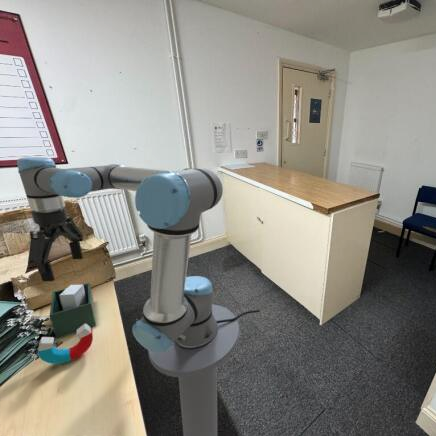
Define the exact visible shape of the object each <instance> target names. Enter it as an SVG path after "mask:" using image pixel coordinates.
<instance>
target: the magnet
mask: <svg viewBox="0 0 436 436" xmlns="http://www.w3.org/2000/svg"><path fill="white" fill-rule="evenodd" d="M93 334H94V333H93V330H92V327H89V325H87V324H86V323H85V324H84V325H82V326H81V327H80V328H78V329H77V332H76V337H77V338H79V341H78V342H77V343H76V344H75V345H73V346H70V347H69V348H64V349H63V348H62V349H61V348H57V347H55V346H54V340H55V337H53V336H42V337H41V338H40V340H39V343H38V349H37V354H38V357H39V359H41V360H42V362H45V363H48V364H53V365H54V364H56V365H57V364H63V363H64V364H65V363H68V362H71V361H73V360H75V359H78V358H79V357H81V356H82V355H84V354H85V353H87V351H88V350H89V348H90V347H91V346H92V344H93V339H94V338H93V336H94V335H93Z"/></svg>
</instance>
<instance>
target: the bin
mask: <svg viewBox="0 0 436 436" xmlns="http://www.w3.org/2000/svg"><path fill="white" fill-rule="evenodd" d="M82 285H83V286H84V290H85V295H86V300H87V304H84V305H81V306H77V307H74V308H70V309H67V310H63V308H62V304H61V300H60V296H59V295H60V294H61V293H62V292H63V291H64V290H65V289H66V288H63V289H59V290H54V291H52V293H51V301H50V302H51V303H50V309H49V316H48V317H49V319H50V322H51V326H52V329H53V332H54V334H55V338H56V339H60V338H63V337H66V336H68V335H71V334H75V333H77V329H78V328H80V327H81V326H82V325H84V324H85V323H86V324H87V325H89V327H90V328H93V327H96V326H97V322H96V310H95V302H94V297H93V291H92V288H91V283H90V282H88V283H83V284H82Z"/></svg>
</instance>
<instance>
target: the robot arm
mask: <svg viewBox="0 0 436 436" xmlns="http://www.w3.org/2000/svg"><path fill="white" fill-rule="evenodd" d="M16 164H17V169H18V170H17V172H18V174H19V177H20V181H21V183H22V186H23V189H24V193H25V195H26V199H27V203H28V206H29V209H30V211H31V212H30V214H31V217H32V221H33V223H34V224H36V225H38V227H39V228H38V230H30V232H29V238H30V243H29V249H28V250H29V251H28V259H27V265H28V266H36V268H37V271H38V273H39V274H40V278H41V281H42V282H54V281H55V280H56V279H55V275H54V272H53V269H52V265H51V262H50V261H48V259H49V256H50V253H51V250H52V247H53V244H54V242H56V240H57V239H58V238H59V237H60V236H62V237H64V238H65V239H67V240H68V241H70V242H69V243H68V244H69V248H70V253H71V258H72V260H82V259H84V256H83V252H82V246H81V242H83V241H84V234H83V232H82V231H81V230H80V229H79V227H78V226H77V224H76V223H75V222H74V218H73V217H72V216H68V213H67V209H66V208H65V207H66V203H65V199H64V198H73V199H74V198H75V199H77V198H83V197H85V196H87V195H88V194H90V193H91V192H93V193H94V192H96V191H102V190H111V189H113V190H122V191H123V190H124V191H132V192H135V195H134V205H135V209H136V211H137V212H139V214H138V216H139V218H140V219H141V221H142V222H144V223H145V224H146V226H147V228H148V229H149V230H150V231H151V232H153V240H152V241H153V242H152V261H151V274H150V275H151V279H150V280H151V281H150V293H149V295H150V296H149V299H147V301H145V303H144V305H143V309H142V317H141V319H139V320H137V321H136V322H135V323H134V324H133V325H132V329H131V330H132V331H131V332H132V335H133V337H134V338H135V340H136V341H137V342H138V343H139V345H141V346H142V347H143V348H144V349H146V350H147V351H148V350H149V351H151V352H154V353H162V352H164V351H166V350H167V349H168V348H169V347H170V346H172V345H173V343H174V342H176V344H177V345H178V346H179V347H181V348H184V349H197V348H200V347H203V346H205V345H207V344H208V343H210V342H211V341H212V340H213V339H214V337H215V336H216V334H217V323H222V322H229V321H234V320H236V319H237V320H238V319H240V318H241V317H243V316H244V315H248V314H253V313H254V314H255V313H260V312H261V310H260V309H254V310H247V311H244V312H242V313H240V314H238V315H237V316H235V318H232V319H225V320H219V321H216V320H215V318H214V315H213V313H212V304H213V287H212V286H213V285H212V282H211V280H210V279H208V278H207V277H205V276H199V275H193V276H192V275H191V276H187V273H188V265H189V257H190V250H191V244H192V243H191V242H192V235H193V234H195V233H196V232H197V231H198V230H199V228H200V223H201V215H202V213H204V212H207V211H209V210H211V209H213V208H215V207H216V206H218V204H219V202H220V201H221V199H222V197H223V193H224V192H223V191H224V190H223V189H224V188H223V183H222V181H221V178H220V177H219V176H218V175H217V174H216V173H215V172H214V171H212V170H210V169H207V168H204V167H193V168H189V167H187V168H182V169H181V170H170V169H157V168H145V167H144V168H143V167H134V166H133V167H132V166H126V165H124V164H113V163H112V164H106V165H96V166H84V167H83V166H81V167H71V168H60V167H57V165H56V163H55V161H54V160H53V159H52V158H50V157H41V156H28V157H20V158H18V159H16Z"/></svg>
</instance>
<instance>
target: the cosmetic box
mask: <svg viewBox="0 0 436 436" xmlns="http://www.w3.org/2000/svg"><path fill="white" fill-rule="evenodd" d="M64 289H65V290H64V291H63V292H62V293H61V294H60V295H59V296H60V300H61V304H62V308H63V310H67V309H70V308H74V307H77V306H81V305H84V304H87V300H86V295H85V290H84V286H83V284H70V285H69V286H68V287H67V288H64Z"/></svg>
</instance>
